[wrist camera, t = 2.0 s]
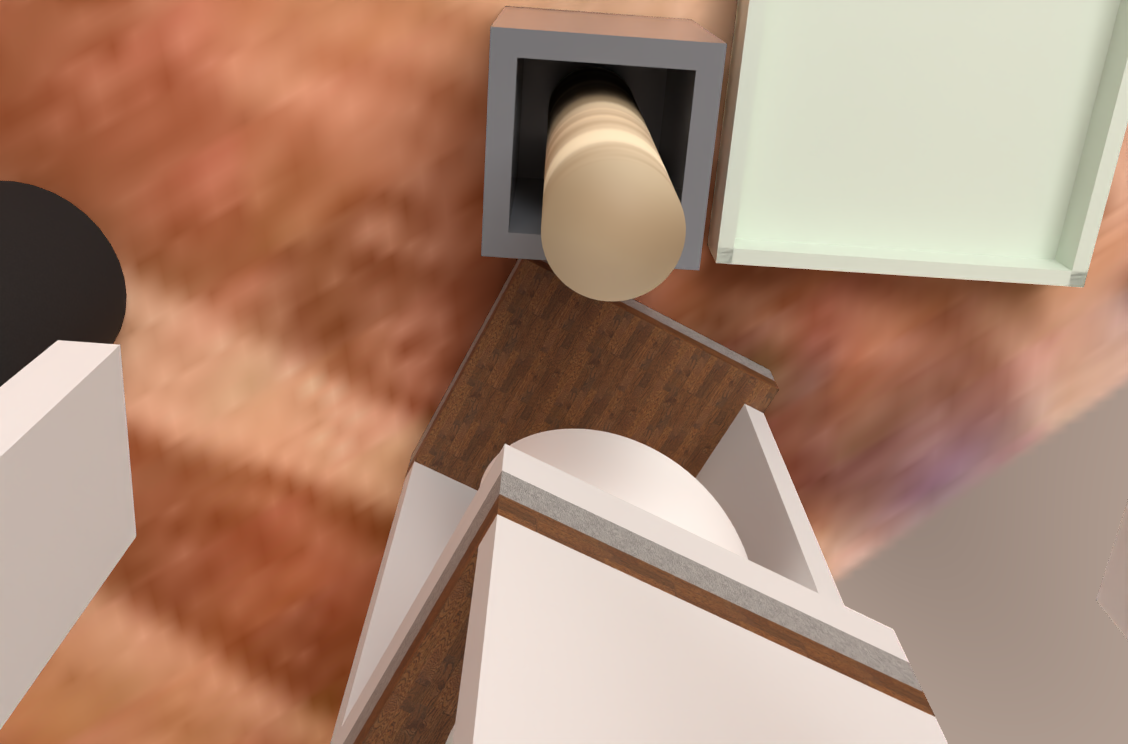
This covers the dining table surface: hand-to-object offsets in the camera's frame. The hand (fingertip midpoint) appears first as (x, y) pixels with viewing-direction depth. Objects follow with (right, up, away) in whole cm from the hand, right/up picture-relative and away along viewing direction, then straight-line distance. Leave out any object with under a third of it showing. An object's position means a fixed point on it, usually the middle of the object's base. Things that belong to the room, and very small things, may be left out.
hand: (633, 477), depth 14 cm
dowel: (0, +11, +25) cm, 28 cm away
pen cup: (0, +11, +26) cm, 29 cm away
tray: (+12, +14, +25) cm, 31 cm away
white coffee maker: (0, 0, +31) cm, 32 cm away
